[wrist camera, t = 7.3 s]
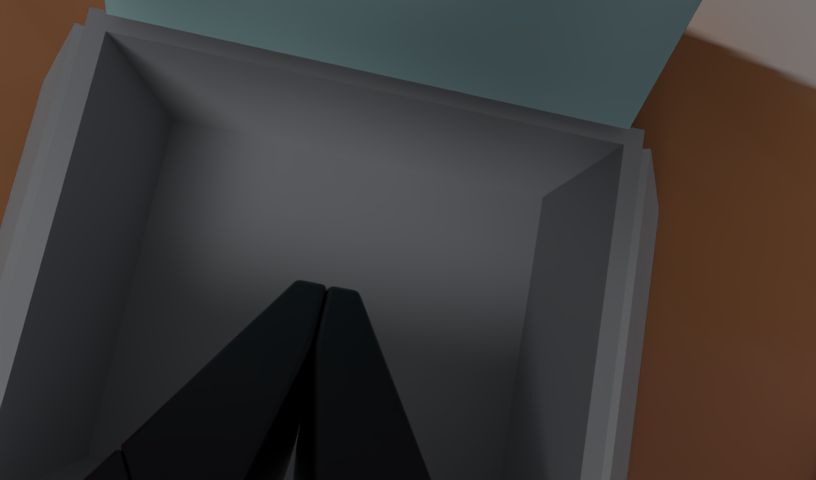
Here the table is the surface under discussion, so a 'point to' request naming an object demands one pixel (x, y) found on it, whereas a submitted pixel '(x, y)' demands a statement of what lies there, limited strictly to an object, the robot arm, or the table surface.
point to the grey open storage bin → (319, 250)
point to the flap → (461, 43)
